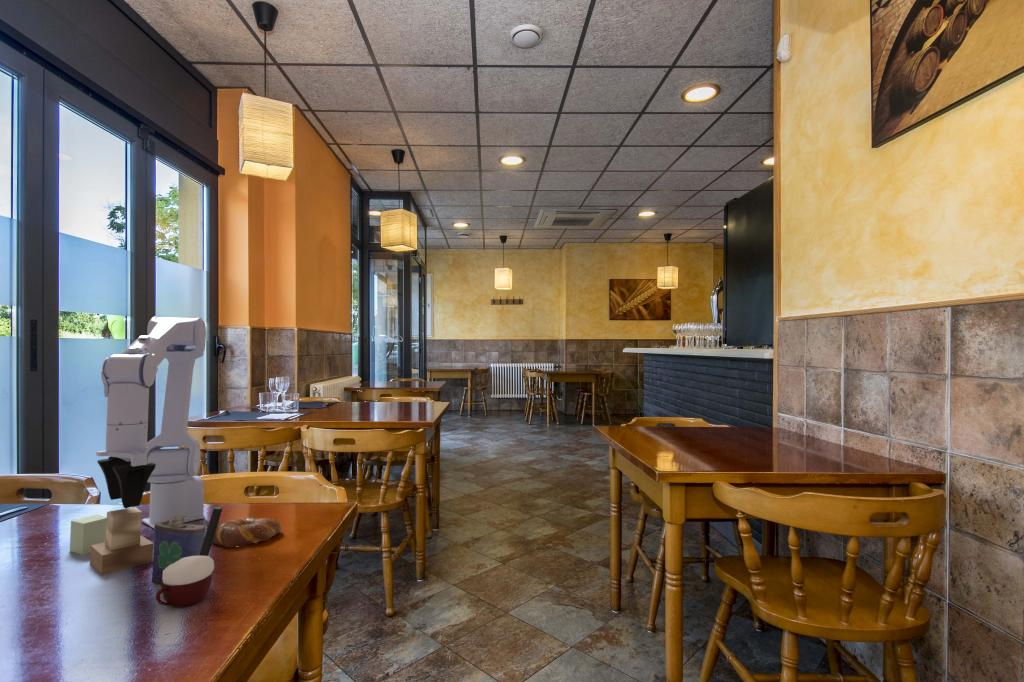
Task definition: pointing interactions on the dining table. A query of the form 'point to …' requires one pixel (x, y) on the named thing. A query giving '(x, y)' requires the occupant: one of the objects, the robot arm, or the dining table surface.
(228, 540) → the pretzel
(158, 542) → the flask
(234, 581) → the dining table surface
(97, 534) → the sage block
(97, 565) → the walnut slab
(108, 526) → the beech block
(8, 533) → the dining table surface
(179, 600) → the cocoa
